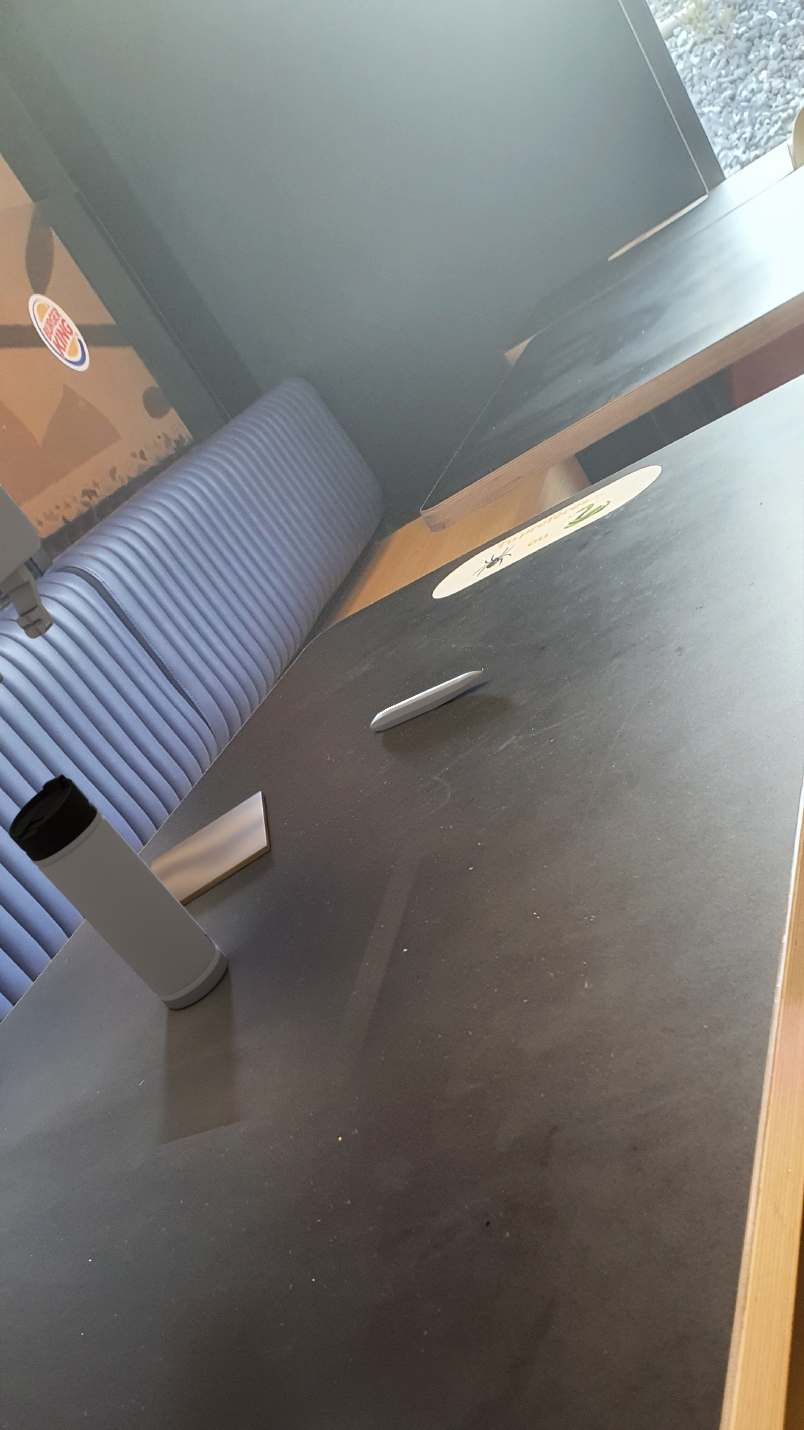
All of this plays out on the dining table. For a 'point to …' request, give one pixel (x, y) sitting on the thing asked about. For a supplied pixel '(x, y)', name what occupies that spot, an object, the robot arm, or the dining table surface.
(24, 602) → the robot arm
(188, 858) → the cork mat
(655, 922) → the dining table surface
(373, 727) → the pen
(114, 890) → the travel mug
